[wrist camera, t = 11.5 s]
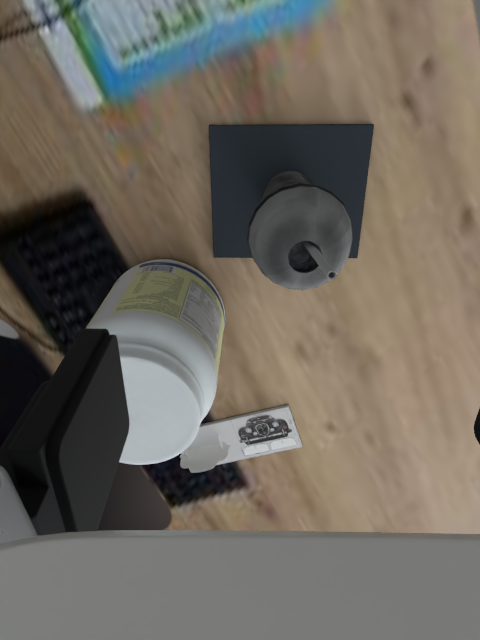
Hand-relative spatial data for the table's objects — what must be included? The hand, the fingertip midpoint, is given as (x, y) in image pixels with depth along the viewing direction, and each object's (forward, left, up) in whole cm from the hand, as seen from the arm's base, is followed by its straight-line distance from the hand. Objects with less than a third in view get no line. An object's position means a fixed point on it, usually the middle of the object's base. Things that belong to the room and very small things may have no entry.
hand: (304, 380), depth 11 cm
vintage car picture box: (-3, -34, -34) cm, 48 cm away
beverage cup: (+2, -3, -33) cm, 33 cm away
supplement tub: (-10, -16, -34) cm, 38 cm away
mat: (+2, -4, -33) cm, 34 cm away
